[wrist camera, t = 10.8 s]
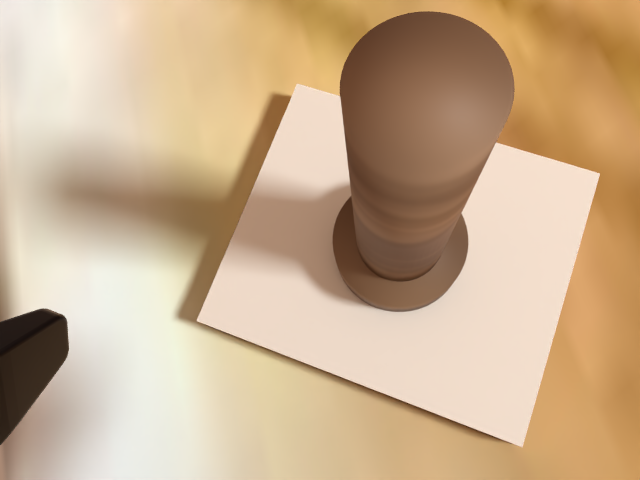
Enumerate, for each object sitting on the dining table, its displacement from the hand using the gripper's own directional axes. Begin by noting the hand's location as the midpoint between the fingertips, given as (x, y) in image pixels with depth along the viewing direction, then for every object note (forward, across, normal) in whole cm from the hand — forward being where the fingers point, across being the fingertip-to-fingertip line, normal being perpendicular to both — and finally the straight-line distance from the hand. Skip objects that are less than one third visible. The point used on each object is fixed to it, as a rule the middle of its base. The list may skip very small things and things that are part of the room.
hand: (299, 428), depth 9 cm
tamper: (+13, 0, +4) cm, 14 cm away
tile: (+14, 0, +5) cm, 15 cm away
